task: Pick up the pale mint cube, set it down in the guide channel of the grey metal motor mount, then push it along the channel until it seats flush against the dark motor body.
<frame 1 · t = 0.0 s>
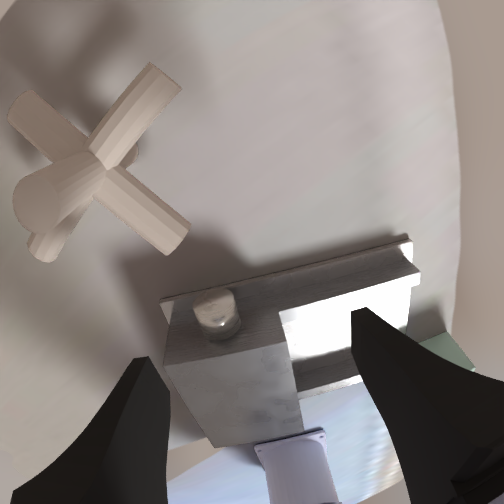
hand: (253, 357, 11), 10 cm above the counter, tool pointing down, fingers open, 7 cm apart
pale mint cube: (423, 356, 27), on the counter
motor mount: (301, 335, 24), on the counter
pipe connector: (124, 151, 17), on the counter
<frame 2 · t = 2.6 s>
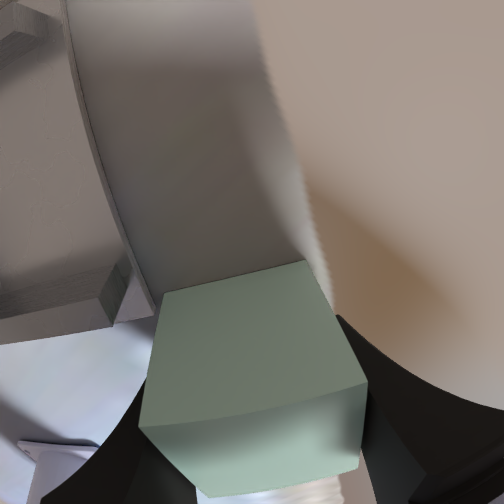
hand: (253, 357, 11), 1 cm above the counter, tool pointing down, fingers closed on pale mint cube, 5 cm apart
pale mint cube: (249, 331, 12), on the counter, touching gripper
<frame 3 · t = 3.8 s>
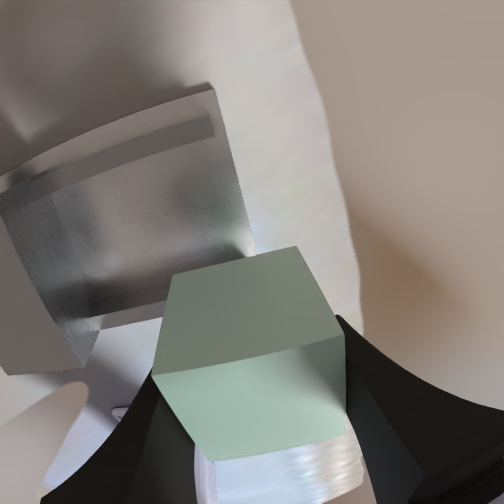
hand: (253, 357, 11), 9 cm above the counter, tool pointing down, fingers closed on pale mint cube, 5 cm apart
pale mint cube: (247, 311, 14), point 6 cm above the counter, touching gripper
motor mount: (95, 238, 17), on the counter
when the fingers open (3 cm above the counter, at t = 5.5 s): pale mint cube stays where it is, resting on motor mount.
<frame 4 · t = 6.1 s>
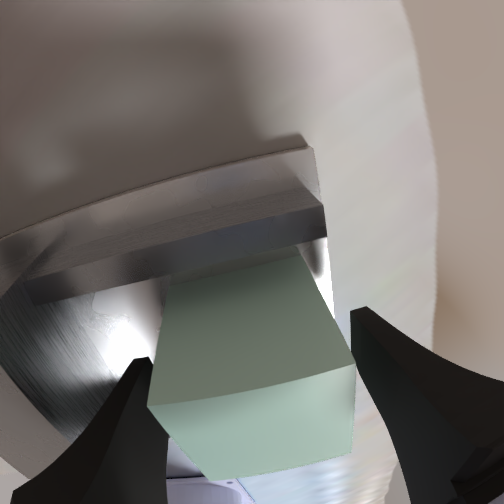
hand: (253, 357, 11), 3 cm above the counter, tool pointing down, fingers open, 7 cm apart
pale mint cube: (249, 323, 13), resting on motor mount
motor mount: (126, 335, 13), on the counter
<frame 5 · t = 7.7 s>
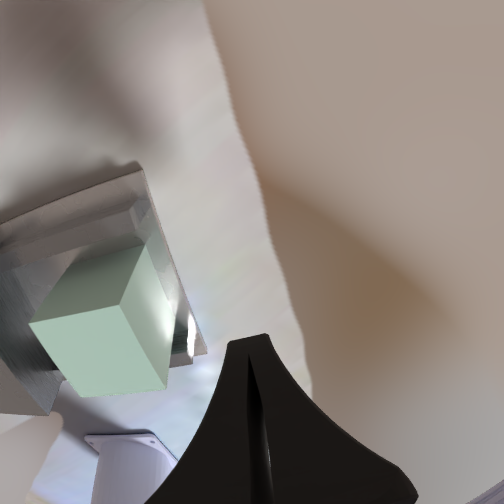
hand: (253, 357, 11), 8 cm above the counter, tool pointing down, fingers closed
pale mint cube: (121, 293, 17), resting on motor mount
motor mount: (52, 301, 18), on the counter
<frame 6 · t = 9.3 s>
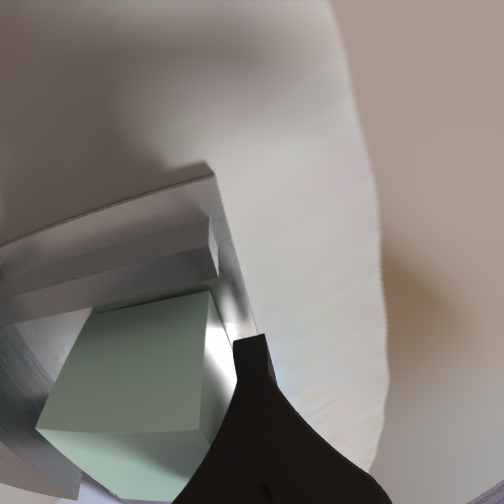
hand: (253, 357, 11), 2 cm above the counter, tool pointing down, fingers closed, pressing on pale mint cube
pale mint cube: (168, 353, 12), point 1 cm above the counter, touching gripper, motor mount
motor mount: (67, 356, 13), on the counter
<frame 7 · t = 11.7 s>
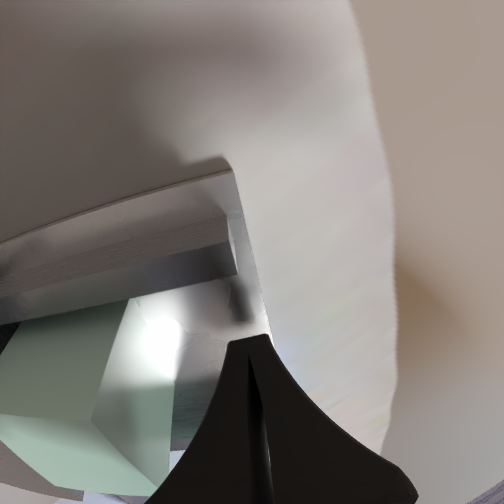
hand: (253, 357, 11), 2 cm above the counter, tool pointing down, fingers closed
pale mint cube: (101, 350, 12), resting on motor mount
motor mount: (73, 354, 12), on the counter
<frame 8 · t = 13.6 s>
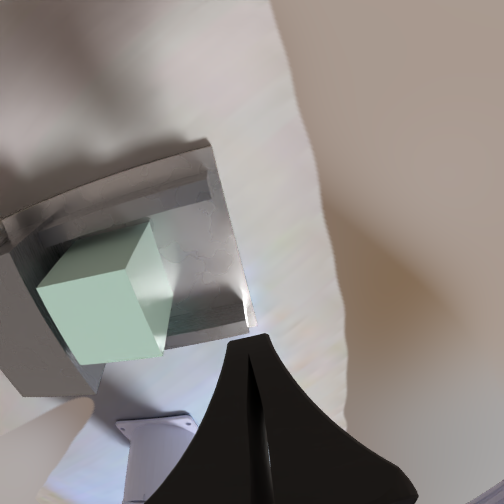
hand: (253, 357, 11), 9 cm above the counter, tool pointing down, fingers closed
pale mint cube: (124, 268, 18), resting on motor mount
motor mount: (102, 277, 19), on the counter
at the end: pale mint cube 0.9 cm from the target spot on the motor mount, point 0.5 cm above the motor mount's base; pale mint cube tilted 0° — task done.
